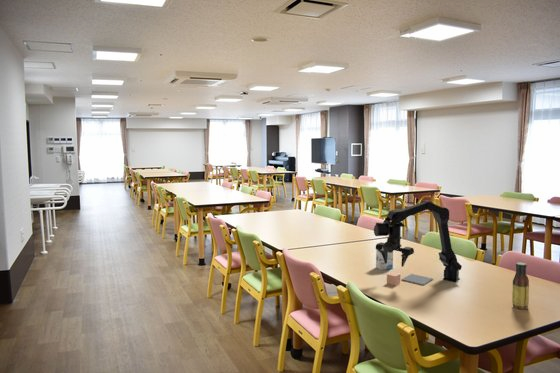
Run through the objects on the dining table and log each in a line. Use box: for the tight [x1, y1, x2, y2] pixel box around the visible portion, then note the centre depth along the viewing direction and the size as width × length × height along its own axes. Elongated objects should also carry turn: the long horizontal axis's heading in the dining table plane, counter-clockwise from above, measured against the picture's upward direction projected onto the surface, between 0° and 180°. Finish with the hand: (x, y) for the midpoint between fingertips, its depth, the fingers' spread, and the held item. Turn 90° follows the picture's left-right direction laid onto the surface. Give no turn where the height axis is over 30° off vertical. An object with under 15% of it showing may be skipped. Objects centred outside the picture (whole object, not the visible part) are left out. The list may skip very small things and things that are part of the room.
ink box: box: [375, 248, 394, 271], centre depth 237 cm, size 9×5×12 cm, turn 105°
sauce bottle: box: [511, 261, 530, 310], centre depth 179 cm, size 7×6×20 cm
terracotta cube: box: [386, 271, 401, 287], centre depth 212 cm, size 5×5×5 cm
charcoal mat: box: [401, 273, 434, 286], centre depth 217 cm, size 12×12×1 cm
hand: (394, 264), depth 211 cm, fingers open, 9 cm apart
